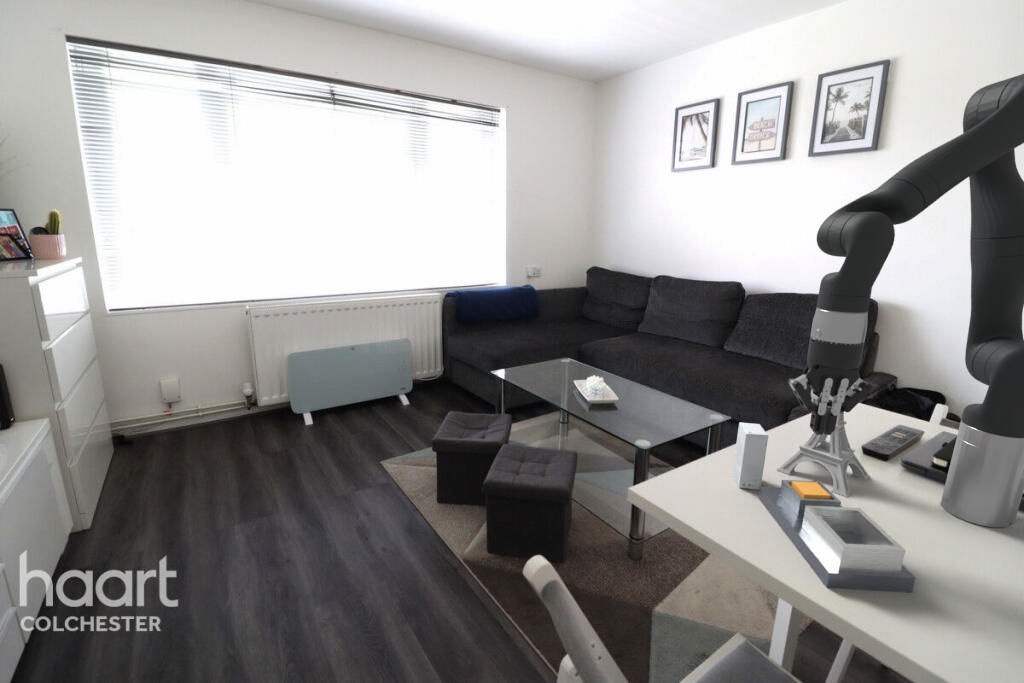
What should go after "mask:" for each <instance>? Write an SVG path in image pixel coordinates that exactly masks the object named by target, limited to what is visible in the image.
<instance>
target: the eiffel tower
mask: <svg viewBox="0 0 1024 683" xmlns="http://www.w3.org/2000/svg"><path fill="white" fill-rule="evenodd" d="M844 414H845V412H842V413H840V414H839V415H838V416H837V421H836V427H835V430H834V432H832V434H831V435H825V434H824V433H823V434H822V435H817V434H816V433H814V432H813V433H812V434H811V436H810V437H809V439H808V440H807V441H805V442H803V443H802V444H801V445H799V447H798V448H799V450H798V451H797V452H796V453H795V454H794V455H792V456H791V457H790V458H789V459H787V461H785V462H784V464H782V465H781V466H779V467H778V468H776V471H777V472H779V473H782V474H784V475H787V476H791V475H792V474H794V473H795V472H796V470H795V469H796V467H797V466H798V465H799V464H800V463H803V462H804V463H805V462H815V463H818V464H820V465H823V467H825V468H826V469H827V470H828V472H829V473H830V475H831V478H832V481H833V484H832V485H833V486H832V487H833V488H832V490H831V491H830V492H831V493H832V494H837V495H839V496H841V497H844V498H848V497H849V496H850V495H851V494H852V491H851V489H850V487H849V481H848V476H847V474H848V472H847V471H848V467H849V468H850V469H851V472H852V473H851V476H852V477H855V478H857V479H859V480H863V481H867V480H868V479H869V478H870V477H871V475H869V473H868V472H867V470H866V469H865V467H864V466H863V465H862V463H861V462H860V460H859V459H858V457H857V455H855V452H856V449H855V448H852V447H851V445H850V442H849V439H848V435H847V431H846V429H845V428H846V427H845V425H846V424H848V422H847V421H846V420H845V415H844ZM828 436H829V440H827V438H828Z"/></svg>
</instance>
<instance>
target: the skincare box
mask: <svg viewBox="0 0 1024 683" xmlns="http://www.w3.org/2000/svg"><path fill="white" fill-rule="evenodd" d="M768 442H769V435H768V433H767V432H766V431H765V429H764V428H763V427H762V425H761V424H760V423H752V422H751V423H749V422H742V421H741V422H739V423H738V430H737V437H736V444H735V452H734V458H733V467H732V475H733V478H734V480H735V482H736V484H737V486H738V488H739V489H747V488H748V490H750V489H751V490H757V491H759V488H760V486H762V483H763V482H762V480H763V476H764V474H763V473H764V469H765V462H766V461H765V460H766V454H767V446H768Z"/></svg>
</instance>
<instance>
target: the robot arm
mask: <svg viewBox="0 0 1024 683" xmlns="http://www.w3.org/2000/svg"><path fill="white" fill-rule="evenodd" d="M1023 144H1024V73H1021V74H1019V75H1016V76H1013V77H1009V78H1007V79H1003V80H999V81H997V82H994V83H991V84H988V85H985V86H983V87H981V88H979V89H977V90H976V91H975V92H974V93H973V94H972V95H971V96H970V98H969V99H968V100H967V103H966V105H965V108H964V111H963V117H962V133H961V134H960V135H958V136H956V137H955V138H953V139H951V140H948V141H947V142H945V143H943V144H940V145H939V146H937V147H935V148H933V149H931V150H929V151H928V152H926V153H924V154H922V155H921V156H919V157H917V158H916V159H914V160H913V161H911V162H910V163H908V164H906V166H904V167H902V168H901V169H900V170H898V171H897V172H896V173H895V174H893V175H892V176H891V177H889V178H888V179H886V180H885V181H884V182H883V183H882V184H881V185H879V187H877V188H875V189H874V190H872V191H870V192H868V193H865V194H864V195H862V196H860V197H858V198H856V199H854V200H853V201H851V202H849V203H847V204H845V205H844V206H842V207H840V208H838V209H837V210H835V211H833V213H831V214H830V215H828V217H826V219H824V221H823V222H822V223H821V225H820V227H819V228H818V229H817V230H818V231H817V234H816V245H817V247H818V248H819V250H820V251H822V253H824V254H825V255H829V256H831V257H832V256H833V257H839V258H844V261H843V264H842V266H841V267H840V269H839V270H838V271H834V272H829V273H826V274H825V275H824V276H823V277H822V278H821V281H820V285H819V290H818V296H817V301H816V309H815V313H814V316H813V319H812V324H811V329H810V330H811V331H810V337H809V343H808V351H807V355H806V356H807V357H806V358H807V359H806V360H807V361H806V362H807V364H806V367H805V368H804V369H803V372H802V374H801V375H800V376H798V377H796V378H792V377H791V378H789V379H787V384H788V385H789V387H790V389H791V391H792V392H793V394H794V396H795V397H796V399H797V401H798V402H799V404H800V406H801V407H803V408H804V409H806V410H807V411H808V412H811V416H810V421H809V428H810V429H811V431H812V432H813V433H816V434H817V435H822V434H823V433H824V434H825V435H828V436H830V435H831V434H832V432H834V430H835V427H836V421H837V416H838V415H839V414H840V413H842V412H844V413H850V412H851V411H852V410H853V409H854V408H856V406H857V405H858V404H859V403H860V402H861V401H862V400H863V399H864V398H865V397H866V396H867V395H868V394H869V393H870V392H871V391H872V390H873V384H871V383H868V382H866V381H864V380H863V379H862V378H860V377H861V376H860V372H859V367H860V366H861V362H862V357H863V352H864V346H865V340H866V337H867V336H866V335H867V329H868V315H869V314H868V313H869V307H870V300H871V297H872V296H871V295H872V291H873V286H874V285H875V282H876V281H877V279H878V277H879V275H880V274H881V270H882V269H883V267H884V266H885V263H886V262H887V259H888V257H889V255H890V253H891V251H892V249H893V247H894V243H895V237H896V233H895V232H896V230H895V226H896V225H902V224H905V223H907V222H909V221H911V220H912V219H914V218H915V217H917V216H919V214H921V213H922V212H924V210H926V209H927V208H928V207H929V208H930V206H931V205H933V204H934V203H935V202H936V201H938V200H939V199H941V198H942V197H943V196H944V195H946V193H948V192H949V191H950V190H952V189H954V188H955V187H956V186H958V185H959V184H960V183H962V182H963V181H965V180H966V179H968V180H969V194H970V197H969V198H970V240H969V241H970V244H969V245H970V246H969V247H970V251H969V252H970V253H969V254H970V256H969V257H970V268H971V270H970V272H971V274H970V275H971V276H970V318H969V325H968V332H967V336H966V337H967V339H966V347H965V357H964V361H965V362H964V363H965V367H966V369H967V372H968V373H969V375H970V376H971V377H972V378H973V379H974V380H976V381H978V382H980V383H982V384H984V385H986V386H988V388H987V391H986V393H985V396H984V399H983V402H982V403H971V404H968V405H966V406H965V407H964V408H963V411H962V415H961V418H960V419H961V420H960V423H959V428H958V431H957V436H956V440H955V444H954V448H953V450H952V451H953V452H952V456H951V460H950V465H949V468H948V472H947V476H946V480H945V484H944V487H943V493H942V496H941V501H940V506H941V507H942V508H943V509H944V510H945V511H946V512H948V513H950V514H951V515H953V516H954V517H957V518H959V519H962V520H963V521H967V522H969V523H972V524H976V525H979V526H984V527H990V528H1004V527H1007V526H1008V525H1009V524H1015V522H1016V519H1017V515H1018V512H1019V509H1020V504H1021V502H1022V497H1023V494H1024V334H1023V310H1024V180H1023V178H1022V176H1021V175H1020V173H1019V169H1018V168H1017V162H1016V154H1015V153H1016V151H1015V150H1016V148H1018V147H1019V146H1021V145H1023ZM807 385H808V386H809V388H810V396H809V394H808V392H807V391H806V390H807V389H808V386H807ZM1008 523H1009V524H1008Z"/></svg>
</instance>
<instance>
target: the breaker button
mask: <svg viewBox="0 0 1024 683" xmlns="http://www.w3.org/2000/svg"><path fill="white" fill-rule="evenodd" d="M791 487H792V488H793V489H794V490H795V491H796V492H797V493H798V494H799V495H800V496H801V498H807V499H829V500H830V495H829V494H828V493H827V492H826V491H825V490H824V489H823V488H822V487H821V486H820V485H819V484H818V483H817V482H795V481H792V485H791Z"/></svg>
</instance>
